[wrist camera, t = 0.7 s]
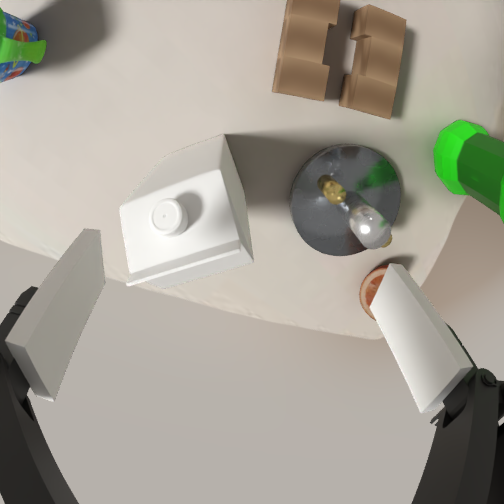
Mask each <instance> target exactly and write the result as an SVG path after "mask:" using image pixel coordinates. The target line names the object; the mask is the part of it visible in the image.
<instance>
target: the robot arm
mask: <svg viewBox="0 0 504 504" xmlns="http://www.w3.org/2000/svg"><path fill="white" fill-rule="evenodd" d="M104 285H105V275H104V266H103V257H102V246H101V235H100V230H94V229H84V230H83V231H82V232H81V233H80V235H79V236H78V237H77V238H76V239H75V241H74V242H73V243H72V244H71V246H70V247H69V248H68V249H67V251H66V252H65V253H64V255H63V256H62V257H61V258H60V260H59V261H58V262H57V264H56V265H55V266H54V268H53V269H52V270H51V272H50V273H49V274H48V276H47V277H46V279H45V280H44V281H43V283H42V284H41V285H40V287H39V288H37V287H32V286H31V287H30V288H29V289H27V290H26V291H25V292H23V293H22V294H21V295H20V297H19V298H18V299H17V301H16V302H15V305H14V306H13V307H12V308H11V309H10V311H9V313H8V314H7V316H6V317H5V318H4V320H3V322H2V323H1V325H0V493H1V495H2V498H3V500H4V502H5V504H79V503H78V502H77V500H76V498H75V497H74V495H73V493H72V491H71V490H70V488H69V486H68V484H67V483H66V481H65V479H64V477H63V475H62V473H61V472H60V470H59V468H58V466H57V464H56V462H55V460H54V458H53V456H52V454H51V451H50V449H49V447H48V445H47V443H46V440H45V438H44V436H43V433H42V431H41V429H40V426H39V424H38V421H37V419H36V416H35V413H34V411H33V408H32V405H31V402H30V400H29V398H28V396H27V392H28V390H29V388H30V387H31V389H32V390H33V392H34V393H35V395H36V396H38V397H41V398H44V399H47V400H50V401H53V402H54V401H55V399H56V396H57V393H58V390H59V388H60V385H61V382H62V380H63V377H64V374H65V372H66V369H67V367H68V364H69V362H70V359H71V357H72V354H73V352H74V349H75V347H76V345H77V343H78V340H79V338H80V336H81V333H82V331H83V329H84V327H85V325H86V322H87V320H88V318H89V316H90V314H91V312H92V309H93V307H94V305H95V303H96V301H97V299H98V297H99V295H100V293H101V291H102V289H103V287H104ZM369 308H370V310H371V311H372V313H373V315H374V317H375V319H376V321H377V323H378V325H379V327H380V329H381V331H382V333H383V335H384V337H385V338H386V340H387V342H388V344H389V346H390V349H391V350H392V352H393V355H394V357H395V359H396V361H397V363H398V365H399V367H400V369H401V371H402V373H403V375H404V378H405V380H406V382H407V384H408V386H409V388H410V391H411V393H412V395H413V397H414V400H415V402H416V404H417V406H418V408H419V411H420V413H425V412H429V411H433V410H434V409H435V408H436V407H437V406H438V405H439V404H440V403H441V402H442V401H443V403H444V405H445V407H444V408H443V409H442V410H441V411H440V412H439V413H438V414H437V415H436V416H435V417H434V418H433V419H432V420H431V422H430V423H431V424H432V423H433V422H434V421H435V420H436V419H439V420H438V422H437V423H436V424H435V426H437V428H436V432H435V436H434V440H433V443H432V447H431V450H430V453H429V457H428V460H427V463H426V466H425V469H424V472H423V475H422V478H421V481H420V483H419V486H418V489H417V491H416V494H415V496H414V499H413V501H412V504H504V423H503V424H502V425H500V426H499V424H498V421H499V420H500V419H501V418H502V417H503V416H504V381H498V380H496V377H495V376H494V375H493V374H492V373H491V372H490V371H489V370H487V369H484V368H481V369H478V368H477V366H476V365H475V363H474V361H473V360H472V358H471V357H470V355H469V354H468V352H467V350H466V349H465V348H464V346H462V343H461V341H460V340H459V339H458V337H457V335H456V334H455V332H454V331H453V329H451V327H450V326H449V325H447V324H446V323H445V322H444V321H443V319H442V318H441V316H440V315H439V313H438V312H437V311H436V309H435V308H434V307H433V305H432V304H431V302H430V301H429V299H428V298H427V297H426V296H425V294H424V293H423V291H422V290H421V289H420V287H419V286H418V285H417V283H416V282H415V281H414V280H413V278H412V277H411V276H410V274H409V273H408V272H407V271H406V269H405V268H404V267H403V265H401V264H393V263H390V264H389V266H388V268H387V270H386V273H385V275H384V277H383V279H382V282H381V284H380V286H379V288H378V290H377V293H376V295H375V297H374V299H373V301H372V303H371V305H370V307H369Z"/></svg>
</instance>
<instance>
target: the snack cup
mask: <svg viewBox="0 0 504 504" xmlns="http://www.w3.org/2000/svg"><path fill="white" fill-rule="evenodd" d="M46 45H47V42H46V40H40V41H38V35H37V32H36V28H35V27H34V26H33V25H32V24H30V23H28V22H26V21H24V20H21V19H19V18H17V17H15V16H13V15H11V14H8V13H6V12H3V10H2V9H1V8H0V83H1V82H3V81H6V80H10V79H13V78H15V77H17V76H19V75H20V74H22V73H23V72H24V71H25V70H26V68H27V67H28V66H29V65H30V63H31V62H33V63H35V64H38V63H40V62H41V60H42V58H43V56H44V53H45V50H46Z"/></svg>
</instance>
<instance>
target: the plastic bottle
mask: <svg viewBox="0 0 504 504" xmlns="http://www.w3.org/2000/svg"><path fill="white" fill-rule="evenodd" d="M433 153H434V163H435V172H436V174H437V175H438V177H439V178H440V179H441V181H442V182H443V183H444V185H445V186H446V187H447V189H448V190H449V191H450V192H452V193H453V194H460V195H470V196H472V197H473V198H475V199H476V200H478V201H479V202H481V203H483V204H484V205H485V206H487V207H488V208H490V209H491V210H493V211H494V212H496V213H497V214H499V215H500V217H501V219H502V221H503V223H504V142H503V141H500V140H498V139H495V138H493V137H490V136H489V134H488V133H487V131H486V130H485V129H484V128H483V127H482V126H479V125H476V124H473V123H469V122H466V121H462V120H458V121H455V122H453V123H452V124H450V125H449V126H447V127H446V128H445V129H443V130H442V131H441V132H440V134H439V136H438V139H437V142H436V144H435V147H434V149H433Z"/></svg>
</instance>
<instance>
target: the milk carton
mask: <svg viewBox="0 0 504 504" xmlns="http://www.w3.org/2000/svg"><path fill="white" fill-rule="evenodd" d="M119 210H120V218H121V225H122V231H123V238H124V244H125V250H126V255H127V261H128V266H129V271H130V276H129V278H128V280H127V283H126V285H127V286H131V285H134V284H138V283H141V282H147V283H149V284H152V285H154V286H156V287H159V288H161V289H166V288H170V287H173V286H177V285H180V284H183V283H187V282H190V281H194V280H197V279H200V278H204V277H207V276H211V275H214V274H217V273H221V272H224V271H227V270H231V269H234V268H238V267H241V266H244V265H247V264H251V263H254V258H253V251H252V244H251V237H250V229H249V222H248V215H247V207H246V200H245V193H244V189H243V186H242V184H241V181H240V178H239V175H238V172H237V169H236V166H235V164H234V161H233V158H232V155H231V152H230V149H229V146H228V144H227V141H226V138H225V135H224V134H223V135H219V136H216V137H213V138H211V139H208V140H205V141H202V142H199V143H197V144H194V145H191V146H188V147H186V148H183V149H181V150H178V151H175V152H173V153H170V154H168V155H166V156H164V157H163V158H162V159H161V160H160V161H159V162H158V163H157V164H156V165H155V167H154V168H153V169H152V170H151V171H150V172H149V173H148V174H147V176H146V177H145V178H144V179H143V180H142V181H141V182H140V184H139V185H138V186H137V187H136V188H135V189H134V190H133V192H132V193H131V194H130V195H129V196H128V198H127V199H126V200H125V201H124V203H123V204H122V205H121V207H120V208H119Z"/></svg>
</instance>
